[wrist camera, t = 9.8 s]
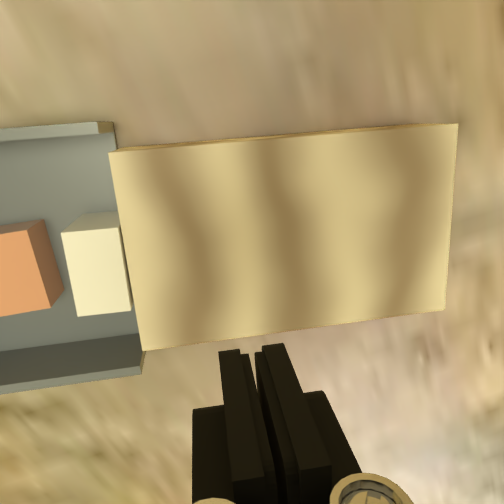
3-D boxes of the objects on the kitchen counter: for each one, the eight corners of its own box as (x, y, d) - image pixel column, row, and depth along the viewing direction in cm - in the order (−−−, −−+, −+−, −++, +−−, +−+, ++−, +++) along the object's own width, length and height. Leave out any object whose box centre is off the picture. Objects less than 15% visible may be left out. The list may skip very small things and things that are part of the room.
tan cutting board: (414, 123, 29) (458, 123, 25) (407, 283, 33) (444, 309, 28) (122, 147, 27) (108, 152, 22) (149, 316, 31) (142, 351, 26)
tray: (113, 122, 26) (96, 121, 22) (148, 336, 31) (141, 374, 26) (-96, 137, 25) (-163, 140, 20) (-27, 359, 30) (-68, 404, 25)
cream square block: (117, 227, 23) (60, 232, 23) (130, 310, 24) (77, 316, 24) (129, 210, 28) (82, 214, 27) (140, 280, 29) (95, 284, 29)
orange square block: (-65, 244, 24) (-38, 231, 27) (-35, 322, 25) (-12, 302, 28) (26, 230, 24) (43, 218, 27) (50, 307, 26) (64, 289, 29)
